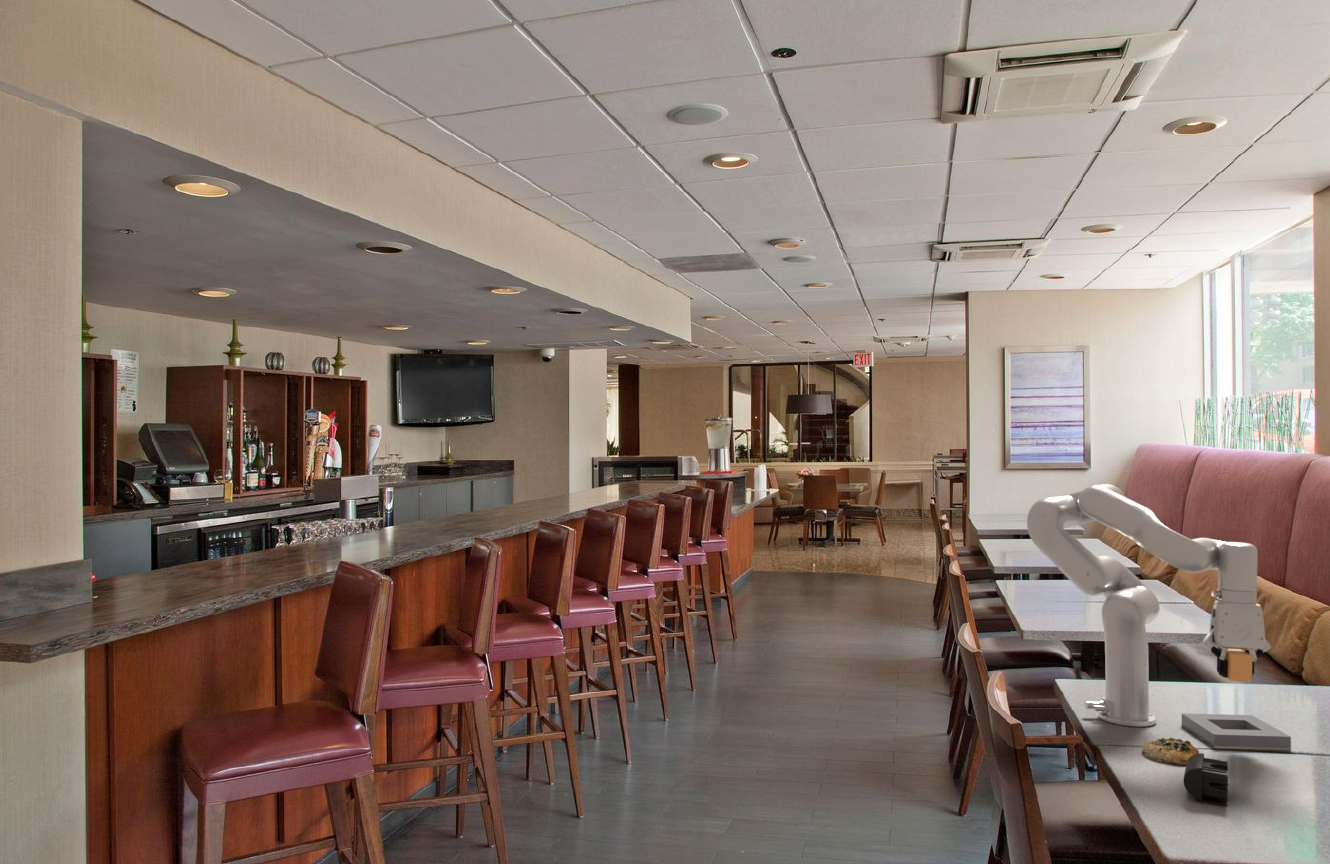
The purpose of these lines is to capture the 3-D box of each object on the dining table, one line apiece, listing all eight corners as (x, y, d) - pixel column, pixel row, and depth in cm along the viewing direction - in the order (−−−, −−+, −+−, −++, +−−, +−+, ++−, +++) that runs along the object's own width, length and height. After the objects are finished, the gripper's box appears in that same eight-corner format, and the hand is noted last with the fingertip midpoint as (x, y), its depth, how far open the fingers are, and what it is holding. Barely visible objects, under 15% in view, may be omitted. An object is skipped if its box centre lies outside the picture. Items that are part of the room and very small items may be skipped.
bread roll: (1192, 750, 203) (1192, 729, 202) (1207, 775, 192) (1207, 752, 192) (1137, 748, 206) (1137, 726, 205) (1148, 772, 195) (1148, 749, 195)
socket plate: (1214, 748, 204) (1214, 734, 204) (1181, 726, 220) (1181, 713, 220) (1290, 750, 203) (1290, 736, 203) (1252, 728, 219) (1252, 715, 219)
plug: (1230, 680, 207) (1230, 654, 206) (1219, 674, 212) (1219, 648, 212) (1251, 681, 206) (1252, 655, 206) (1240, 675, 211) (1240, 649, 211)
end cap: (1186, 784, 183) (1186, 750, 183) (1228, 791, 179) (1227, 757, 180) (1183, 801, 175) (1183, 765, 175) (1227, 809, 171) (1226, 772, 171)
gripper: (1204, 598, 206) (1202, 679, 206) (1285, 601, 204) (1284, 683, 204) (1190, 592, 214) (1188, 670, 214) (1268, 595, 211) (1267, 674, 211)
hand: (1235, 676), depth 209 cm, fingers closed on plug, 4 cm apart
